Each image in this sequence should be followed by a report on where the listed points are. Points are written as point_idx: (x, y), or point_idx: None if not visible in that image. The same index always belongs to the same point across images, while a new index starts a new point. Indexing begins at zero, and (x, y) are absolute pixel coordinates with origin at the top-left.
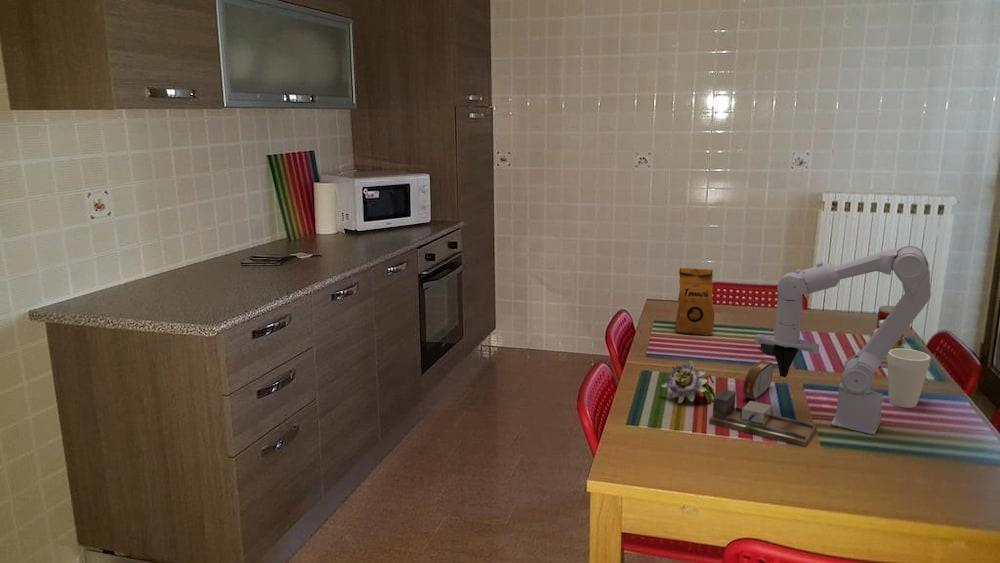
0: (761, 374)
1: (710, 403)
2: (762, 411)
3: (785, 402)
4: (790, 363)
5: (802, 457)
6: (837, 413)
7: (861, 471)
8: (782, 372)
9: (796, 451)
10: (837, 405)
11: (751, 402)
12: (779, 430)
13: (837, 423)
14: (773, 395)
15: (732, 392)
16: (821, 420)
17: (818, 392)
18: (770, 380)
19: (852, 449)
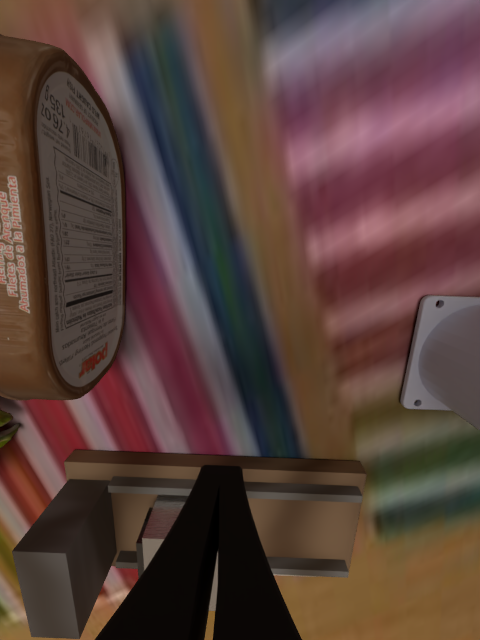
0: (63, 305)
1: (18, 426)
2: (212, 598)
3: (227, 279)
4: (258, 566)
5: (342, 604)
6: (443, 395)
7: (470, 606)
8: (216, 555)
9: (325, 585)
10: (465, 402)
11: (152, 550)
12: (275, 573)
13: (423, 398)
14: (166, 227)
15: (59, 566)
16: (367, 376)
17: (330, 62)
18: (105, 123)
19: (456, 519)
